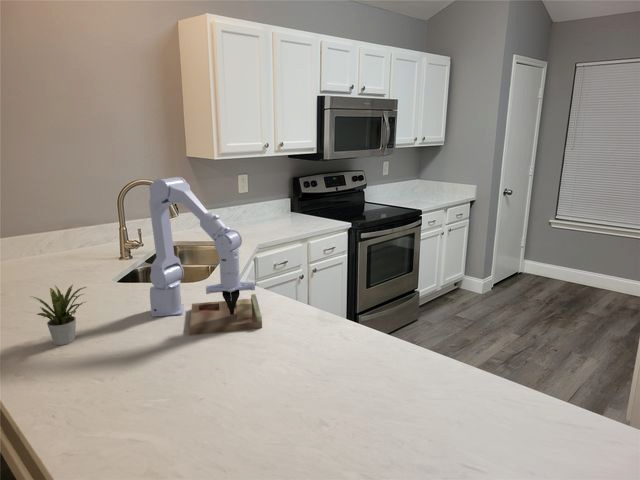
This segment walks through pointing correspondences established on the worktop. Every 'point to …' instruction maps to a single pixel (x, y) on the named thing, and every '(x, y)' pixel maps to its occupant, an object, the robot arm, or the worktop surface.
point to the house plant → (61, 316)
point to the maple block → (244, 308)
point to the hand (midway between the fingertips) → (231, 313)
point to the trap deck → (222, 318)
